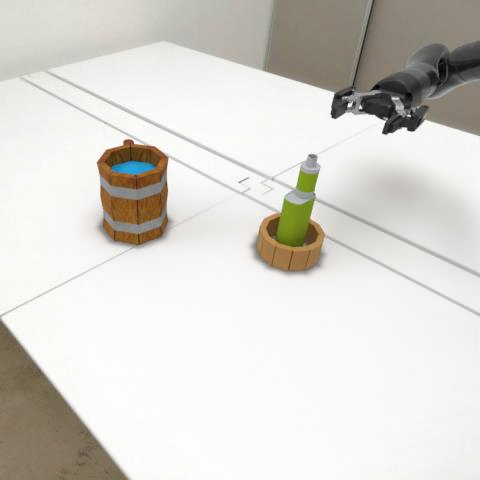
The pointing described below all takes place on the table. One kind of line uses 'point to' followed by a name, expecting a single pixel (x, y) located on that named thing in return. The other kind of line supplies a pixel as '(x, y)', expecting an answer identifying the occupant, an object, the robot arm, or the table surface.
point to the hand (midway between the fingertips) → (359, 120)
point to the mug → (134, 192)
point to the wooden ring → (288, 255)
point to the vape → (299, 205)
